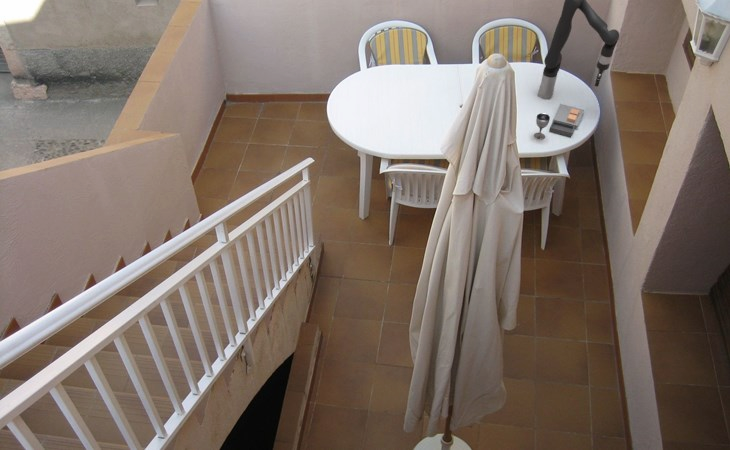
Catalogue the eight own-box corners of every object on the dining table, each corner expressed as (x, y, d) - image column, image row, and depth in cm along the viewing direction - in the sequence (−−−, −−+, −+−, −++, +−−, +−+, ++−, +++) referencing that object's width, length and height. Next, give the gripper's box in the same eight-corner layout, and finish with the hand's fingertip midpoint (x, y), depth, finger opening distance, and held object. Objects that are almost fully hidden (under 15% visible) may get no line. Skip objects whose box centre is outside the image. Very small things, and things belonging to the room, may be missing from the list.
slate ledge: (552, 123, 447) (552, 119, 445) (559, 107, 459) (560, 103, 457) (576, 129, 442) (577, 125, 440) (583, 113, 454) (584, 109, 452)
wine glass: (531, 132, 440) (535, 113, 430) (543, 131, 441) (547, 112, 430) (534, 140, 435) (538, 121, 424) (547, 139, 435) (551, 120, 424)
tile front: (566, 121, 443) (567, 118, 442) (568, 116, 446) (569, 113, 445) (574, 123, 442) (575, 119, 440) (576, 118, 445) (577, 115, 443)
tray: (549, 131, 441) (550, 127, 438) (552, 123, 446) (553, 119, 444) (570, 137, 436) (571, 133, 434) (574, 129, 442) (575, 125, 440)
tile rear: (569, 115, 447) (569, 112, 446) (571, 111, 451) (571, 108, 449) (576, 117, 446) (577, 114, 444) (578, 113, 449) (579, 110, 447)
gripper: (600, 53, 433) (593, 75, 444) (596, 65, 424) (589, 86, 435) (612, 56, 430) (605, 78, 442) (608, 68, 421) (601, 89, 433)
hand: (597, 82), depth 439 cm, fingers open, 8 cm apart
